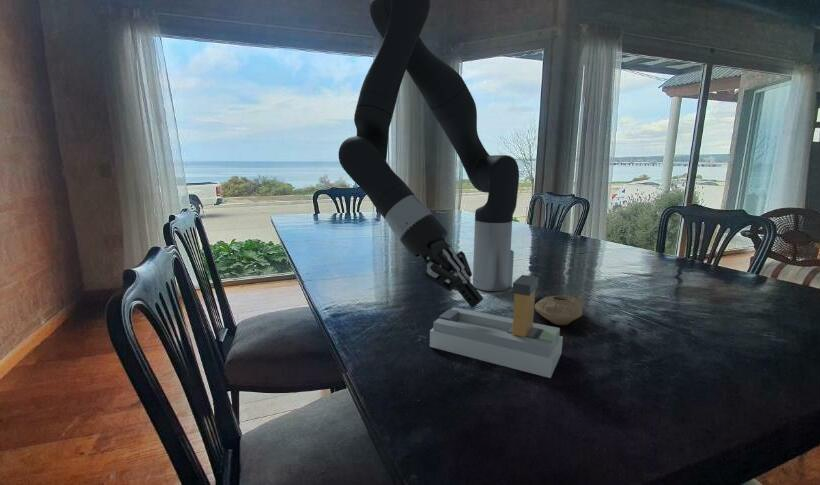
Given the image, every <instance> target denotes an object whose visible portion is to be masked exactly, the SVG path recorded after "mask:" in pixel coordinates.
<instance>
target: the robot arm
mask: <svg viewBox="0 0 820 485" xmlns="http://www.w3.org/2000/svg"><path fill="white" fill-rule="evenodd" d="M430 7H431V0H370V1H369V13H370V17H371V21H372V22H373V25H374V27H375V29H376V30H377V32H378V33H379V34H380V36H381V37H382V39H383V40H382V43H381V45H380V47H379V50H378V52H377V54H376V55H375V57H374V60H373V62H372V63H371V65H370V67H369V69H368V71H367V73H366V75H365V78H364V79H363V82H362V85H361V88H360V91H359V95H358V98H357V99H358V100H357V104H356V108H355V110H354V117H353V122H354V126H355V129H356V135H355V136H350V137H348V138H346V139H345V140H344V141H343V142H342V143H341V145H340V146H339V149H338V160H339V161H338V162H339V164H340V166H341V168H342V169H343V171H344V172H345V173H346V174H347V175H348V176H349V177H350V179H352V181H353V182H354V183H355V184H356V185H357V186H358V187H359V188H360V189H361V191H363V192H364V193H365V195H366V196H367V197H368V198H369V200H370V202H371V204H372V205H373V206H374V208H375V209H376V210H377V211H378V212H379V214H380V215H381V216H382V218H384V220H385V222H386V223H387V225H388V226H389V228H390V230H391V231H392V232H393V234H394V235H395V236H396V237H397V239H398V240H399V242H400V243H401V244H402V245H403V246H404V248H405V249H406V250H407V251H408V253H409V254H410V255H411V257H412V258H414V259H415V260H417V259H421V258H422V261H423V263H424V265H426V268H427V269H426V270H425V271H424V272H423V275H424V277H425V278H426V279H428V280H430V281H432V282H433V283H435V284H437V285H438V286H439V287H442V288H443V289H445V290H447V291H448V292H451V291H452V290H453V291H454V292H458V293H459V294H460V295H461V297H462V298H463V299H464V300H465V301H466V303H467V304H468V305H469V306H470V307H471V308H476V306H477V305H478V304H480V303H481V302H482V301H483V300H484V297H483V296H482V295H481V293H480V292H479V291H478V290H480V291H487V292H502V291H507V290H508V289H510V288H513V275H514V260H515V258H514V257H515V255H514V254H515V252H514V250H512V235H513V234H512V233H513V230H512V229H513V216H514V213H515V211H516V208H517V200H518V192H519V183H520V170H519V169H520V168H519V165H518V163H517V161H516V159H515V158H514V157H513V156H511V155H508V154H507V155H506V154H501V155H499V154H496V155H492V154H489V152H488V151H487V150H486V148H485V146H484V145H483V143H482V142H481V140H480V137H479V134H478V112H477V111H478V110H477V105H476V101H475V100H474V97H473V95H472V93H471V91H470V89H469V88H468V86H467V84H466V83H465V81H464V78H463V77H462V76H461V75H460V73H458V72H457V71H456V70H455V69H454V68H452V66H451V65H449V64H448V63H446V62H445V61H444V60H442V59H441V58H440V57H438V56H437V55H435V54H434V53H433V52H432V51H431V50H430V49H429V48H428V46H426V45H425V43H424V42H423V40H422V38H421V37H420V35H421V33H422V30H423V29H424V26H425V24H426V21H427V19H428V17H429V13H430ZM405 72H407V73H408V75H409V76H410V78H411V80H412V81H413V83H414V84H415V85H416V87H417V89H418V91H419V92H420V94H421V95H422V97H423V99H424V100H425V102H426V105H427V106H428V108H429V110H430V111H431V112H432V114H433V116H434V117H435V120H436V121H437V123H438V124H439V125H440V127H441V128H442V130H443V131H444V133H445V135H446V137H447V139H448V140H449V142H450V144H451V146H452V147H453V148H454V150H455V152H456V154H457V156H458V158H459V160H460V162H461V164H462V166H463V168H464V171H465V173H466V175H467V178H468V179H469V182H470V183H471V185H472V186H473V187H474V189H476V190H477V191H478V192H480V193H481V192H482V193H484V194H486V193H487V194H488V195H487V201H486V202H485V204H484V205H482V206H480V207H477V208H476V209H475V211H474V235H473V236H474V238H473V264H472V265H473V266H472V268H473V269H472V270H471V267H470V265H469V261H468V260H467V256H466V255H465V252H464V251H462V250H459V251H458V252H456V251H455V250H454V249H453V247H452V246H451V245H449V244H448V243H447V242H446V240H445V239H446V238H447V235H448V231H447V229H446V228H445V227H444V226H443V224H441V223H440V221H439V220H438V219H437V218H436V216H435V214H433V213H432V211H431V210H430V209H429V208H428V207H427V205H426V204H425V203H424V202H423V201H421V199H419V198H418V197H417V195H415V193H414V192H413V191H412V189H410V187H409V186H408V184H406V183H405V181H404V180H403V179H402V178H401V177H400V176H399V175H398V174H396V172H395V171H394V170H393V169H392V168H391V166H390V165H389V163H388V162H387V158H388V157H387V156H388V147H389V146H388V145H389V131H390V126H391V123H392V119H393V117H394V112H395V107H396V105H397V100H398V97H399V92H400V89H401V85H402V82H403V78H404V75H405ZM471 277H472V279H471ZM471 281H472V282H471Z"/></svg>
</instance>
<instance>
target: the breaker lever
mask: <svg viewBox="0 0 820 485" xmlns="http://www.w3.org/2000/svg"><path fill="white" fill-rule="evenodd" d="M538 287H539V276H533V275H525V274H521V275H520V276H519V277H518V278H517V279H515V281H514V282H512V294H514V301H513V302H514V303H513V318H512V319H513V325H512V327H511V328H510V329H509V330H508V331H507V333H509V334H513V335H517V336H522V337H527V338H532V339H537V337H538V329H536V328H532V327H533V323H534V316H535V315H534V314H535V304H536V303H535V302H536V289H537V288H538Z"/></svg>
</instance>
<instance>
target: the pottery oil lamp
mask: <svg viewBox="0 0 820 485" xmlns="http://www.w3.org/2000/svg"><path fill="white" fill-rule="evenodd" d="M585 303H586V302H585V300H584V297H583V296H579V295H576V294H564V295H563V294H562V295H553V296H552V295H551V296H549V295H548V296H545V297H544V298H541V299H540V300H538V301H537V302H536V303H534V310H535V311H536V312H537V313H538V314H539V315H540V316H542V317H543V318H544V319H546V320H548V321H549V322H550V323H551V324H554V325H558V326H567V325H569V324H571V322H573V321H575V320H577V319H579V318H581V317H582V315H583V307H584V306H585Z"/></svg>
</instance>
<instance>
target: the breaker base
mask: <svg viewBox="0 0 820 485" xmlns="http://www.w3.org/2000/svg"><path fill="white" fill-rule="evenodd" d="M432 325H433V327H432V328H431V329H430V330H429V347H430V348H433V349H437V350H441V351H445V352H449V353H452V354H456V355H461V356H464V357H469V358H471V359H476V360H480V361H484V362H487V363H490V364H494V365H495V364H496V365H498V366H502V367H507V368H509V369H514V370H518V371H521V372H526V373H529V374H533V375H538V376H541V377H544V378H549V379H551V378H552V376H553V373H554V371H555V369H556V367H557V364H558V363H559V360H560V357H561V355H562V352H563V351H562V349H563V340H564V339H563V338H564V337H563V336H561V335H560V332H561V328H560V327H556V326H550V325H546V324H542V323H536V322H533V327H532V328H536V329H538V337H537V339H532V338H527V337H522V336H517V335H513V334H509V333H507V331H508V330H509V329H510V328H511V327H512V325H513V318H511V317H505V316H500V315H495V314H492V313H491V314H489V313H485V312H481V311H475V310H470V309H465V308H461V307H454V306H453V307H452V308H449V309H447V310H446V311H445V312H443V313H441V314H440V315H439V316H438V318H437V319H436V320H434V321H433V324H432Z"/></svg>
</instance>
